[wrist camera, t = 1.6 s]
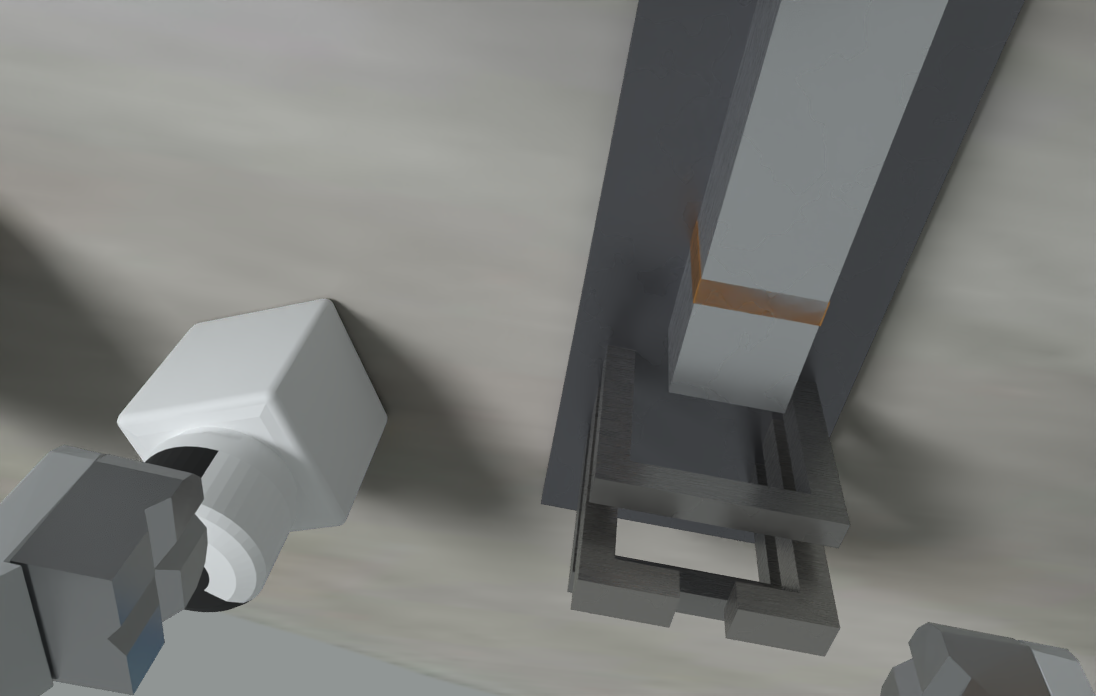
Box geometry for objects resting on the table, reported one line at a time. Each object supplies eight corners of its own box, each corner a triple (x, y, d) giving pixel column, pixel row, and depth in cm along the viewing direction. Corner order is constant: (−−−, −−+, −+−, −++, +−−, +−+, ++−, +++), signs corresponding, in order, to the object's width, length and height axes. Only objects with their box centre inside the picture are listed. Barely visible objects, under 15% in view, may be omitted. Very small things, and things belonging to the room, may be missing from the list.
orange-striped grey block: (781, -97, 26) (800, -73, 23) (926, -71, 26) (967, -43, 23) (667, 327, 36) (667, 392, 32) (773, 347, 36) (785, 413, 32)
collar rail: (658, -103, 27) (655, -27, 18) (1032, -37, 27) (1225, 74, 18) (542, 495, 43) (508, 701, 34) (778, 538, 43) (810, 757, 33)
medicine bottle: (261, 438, 43) (142, 642, 33) (192, 321, 39) (34, 511, 29) (391, 418, 41) (306, 627, 31) (332, 293, 37) (213, 486, 28)
